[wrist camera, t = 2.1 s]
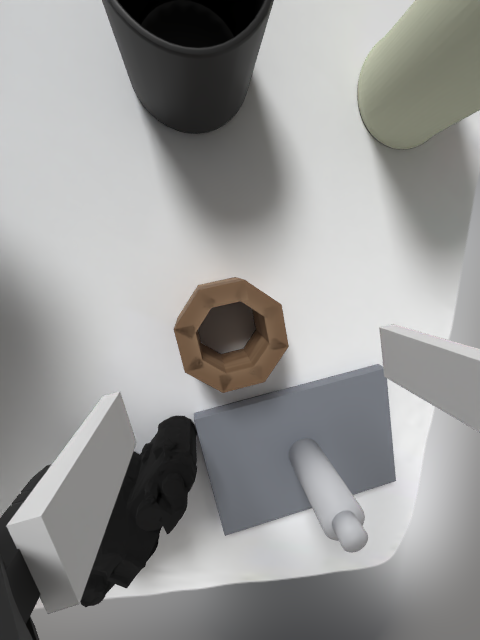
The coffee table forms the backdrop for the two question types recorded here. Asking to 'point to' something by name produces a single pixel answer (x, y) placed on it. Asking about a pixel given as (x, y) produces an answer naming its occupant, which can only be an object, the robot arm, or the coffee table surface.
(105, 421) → the robot arm
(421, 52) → the can
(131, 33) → the mug
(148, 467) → the film camera
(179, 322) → the collar
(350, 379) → the post board
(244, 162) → the coffee table surface
